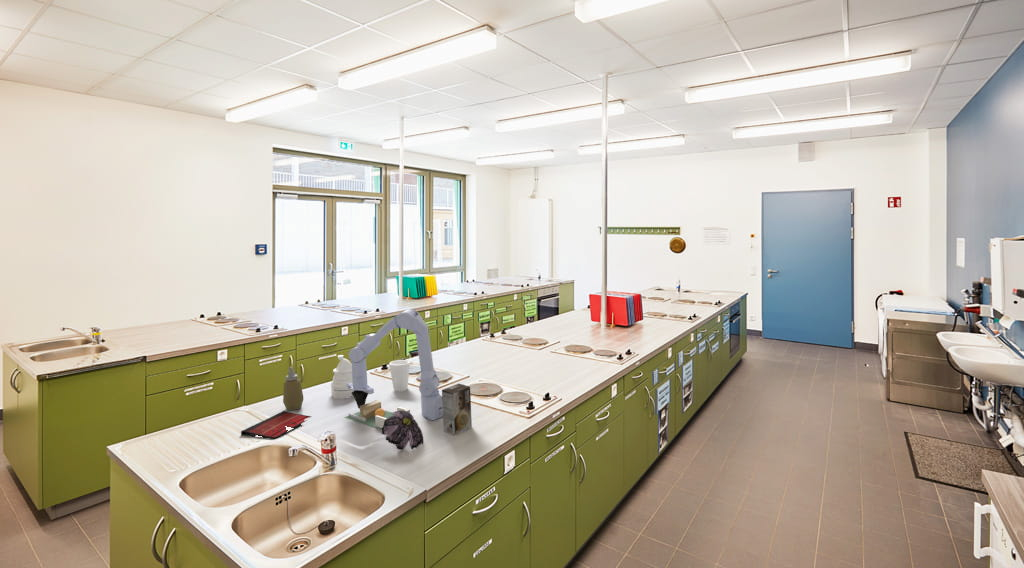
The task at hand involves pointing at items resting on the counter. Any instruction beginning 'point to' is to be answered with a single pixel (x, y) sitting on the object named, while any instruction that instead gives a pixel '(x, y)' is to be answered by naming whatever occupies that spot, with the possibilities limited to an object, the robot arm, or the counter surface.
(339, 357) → the honey pot
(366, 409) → the block
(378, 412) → the ball
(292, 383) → the squeeze bottle
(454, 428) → the coffee box
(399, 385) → the foam cup
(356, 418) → the pitch mat
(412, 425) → the decorative flower
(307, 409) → the counter surface
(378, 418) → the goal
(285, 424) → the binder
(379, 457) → the counter surface
